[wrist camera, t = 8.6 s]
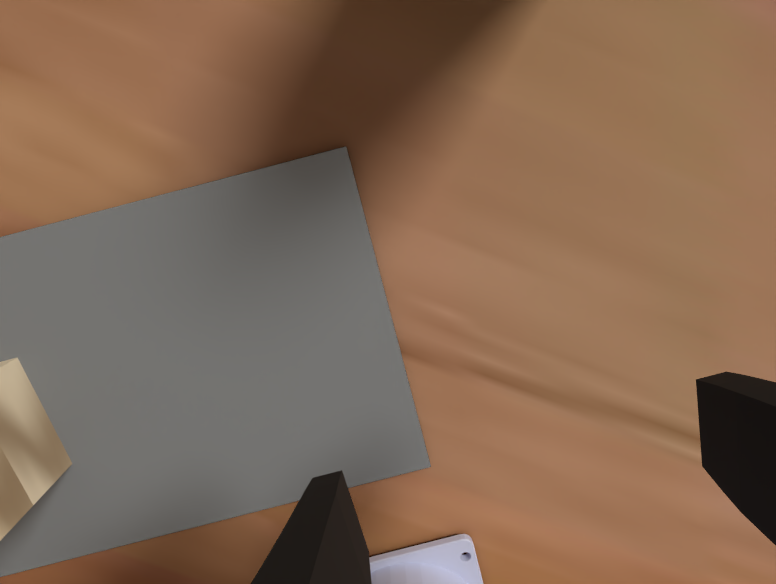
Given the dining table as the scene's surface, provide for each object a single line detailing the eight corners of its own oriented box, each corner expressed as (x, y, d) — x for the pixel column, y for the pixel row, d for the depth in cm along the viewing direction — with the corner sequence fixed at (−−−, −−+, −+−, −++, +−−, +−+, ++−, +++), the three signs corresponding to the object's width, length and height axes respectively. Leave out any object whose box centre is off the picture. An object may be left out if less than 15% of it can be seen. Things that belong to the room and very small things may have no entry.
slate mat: (429, 462, 21) (430, 466, 21) (-62, 588, 22) (-68, 594, 21) (346, 146, 17) (346, 146, 17) (-253, 303, 18) (-263, 306, 17)
